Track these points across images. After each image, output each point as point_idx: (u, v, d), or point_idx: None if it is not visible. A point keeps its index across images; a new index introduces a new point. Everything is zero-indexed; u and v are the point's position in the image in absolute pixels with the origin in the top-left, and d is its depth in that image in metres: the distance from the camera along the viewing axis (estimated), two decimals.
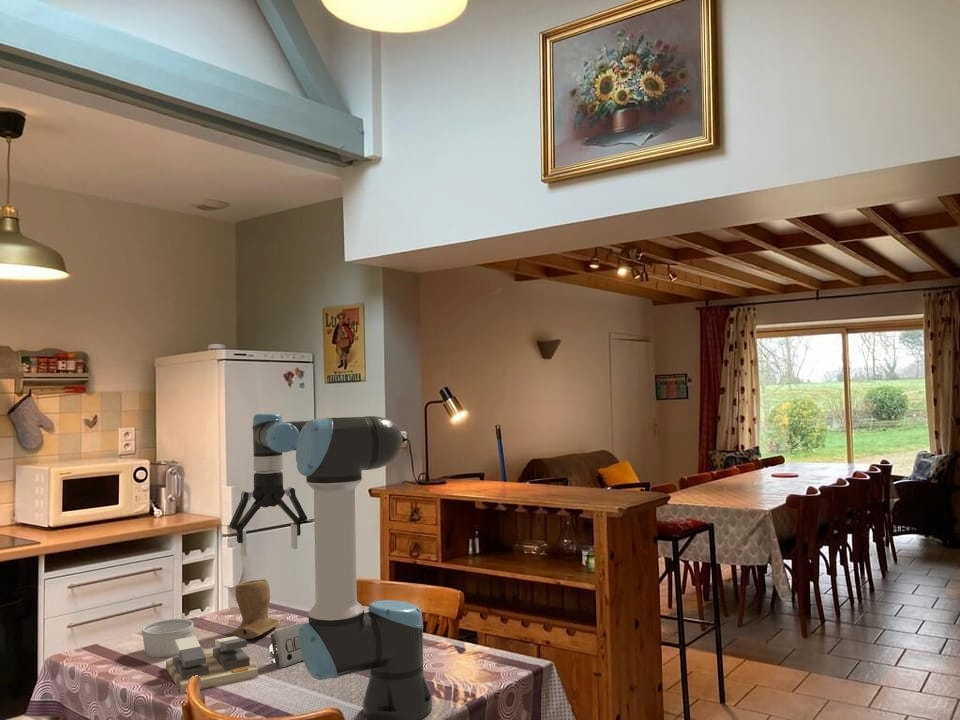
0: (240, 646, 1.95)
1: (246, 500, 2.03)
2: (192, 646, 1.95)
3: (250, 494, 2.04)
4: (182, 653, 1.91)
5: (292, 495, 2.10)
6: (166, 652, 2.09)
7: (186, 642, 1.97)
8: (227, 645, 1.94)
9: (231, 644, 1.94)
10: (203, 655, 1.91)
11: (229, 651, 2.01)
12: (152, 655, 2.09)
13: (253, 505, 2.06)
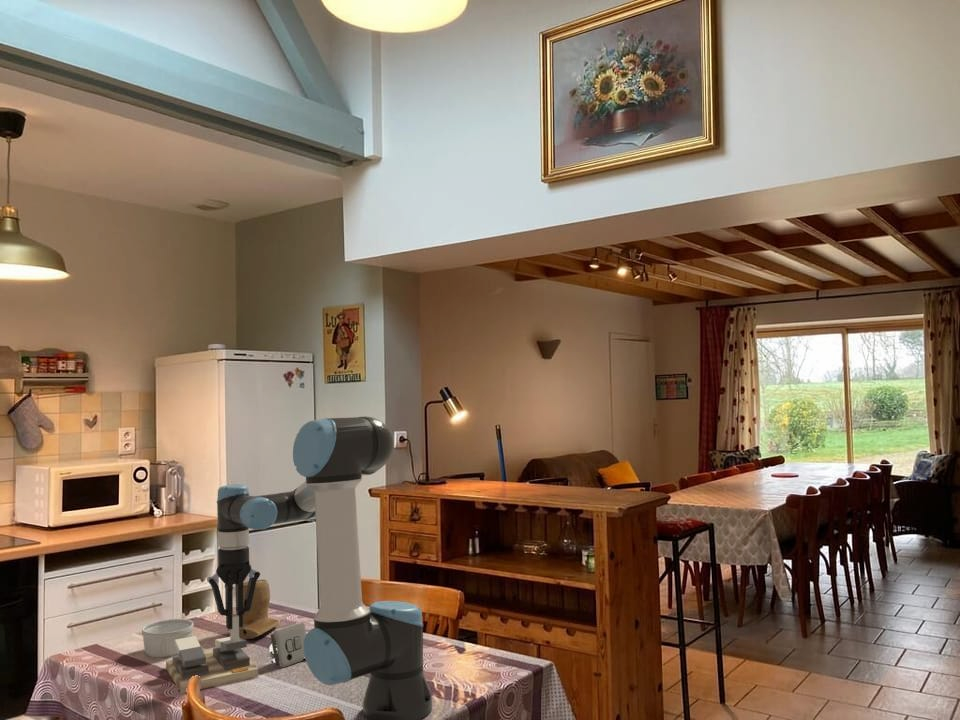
0: (240, 646, 1.95)
1: (216, 585, 1.93)
2: (192, 646, 1.95)
3: (215, 577, 1.94)
4: (182, 653, 1.91)
5: (254, 578, 1.98)
6: (166, 652, 2.09)
7: (186, 642, 1.97)
8: (227, 645, 1.94)
9: (231, 644, 1.94)
10: (203, 655, 1.91)
11: (229, 651, 2.01)
12: (152, 655, 2.09)
13: (226, 586, 1.96)
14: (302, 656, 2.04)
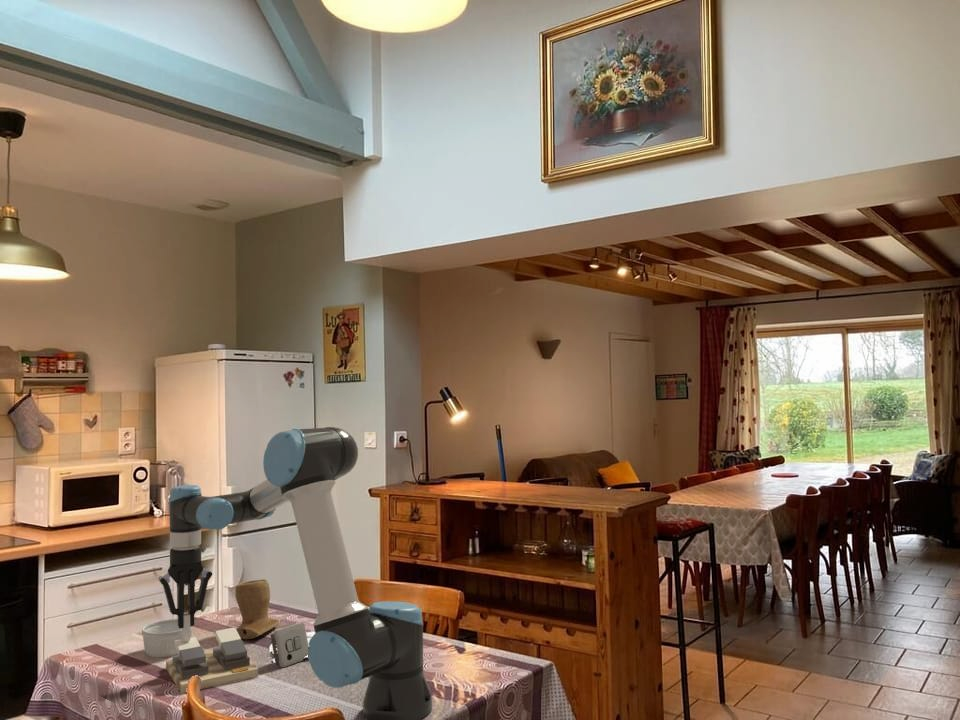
0: (240, 656, 1.95)
1: (167, 584, 1.95)
2: (192, 646, 1.95)
3: (166, 576, 1.96)
4: (182, 653, 1.91)
5: (206, 578, 2.00)
6: (166, 652, 2.09)
7: (186, 642, 1.97)
8: (228, 656, 1.93)
9: (232, 655, 1.94)
10: (203, 654, 1.91)
11: None
12: (152, 655, 2.09)
13: (177, 586, 1.98)
14: (302, 656, 2.04)
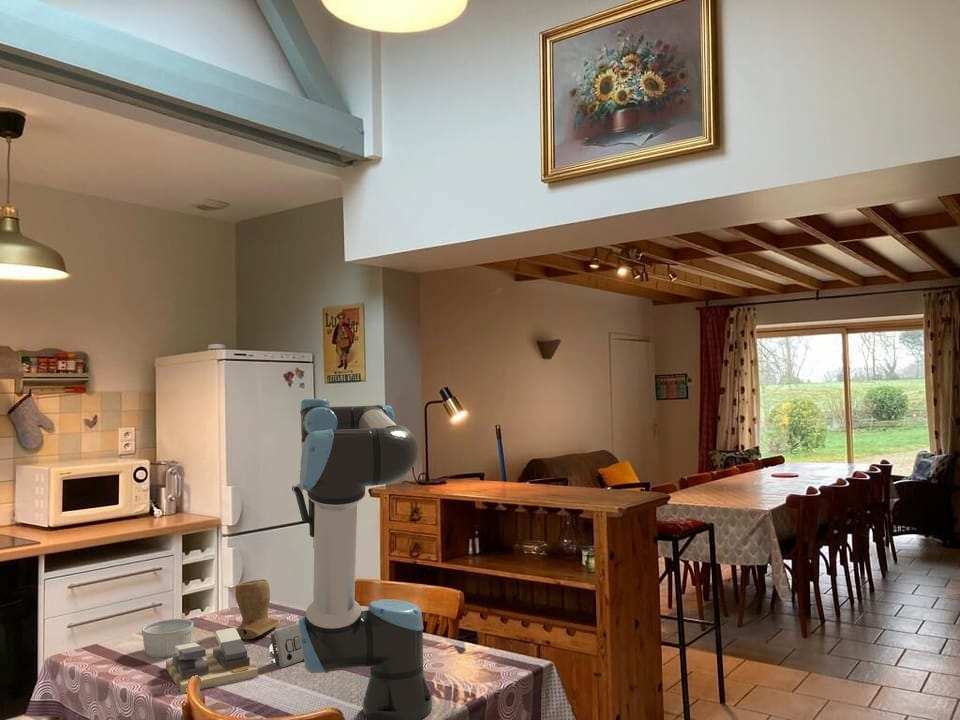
0: (240, 656, 1.95)
1: (300, 493, 1.99)
2: (192, 646, 1.95)
3: (300, 485, 2.00)
4: (182, 650, 1.92)
5: None
6: (166, 652, 2.09)
7: (186, 645, 1.97)
8: (228, 656, 1.93)
9: (232, 655, 1.94)
10: (203, 649, 1.92)
11: None
12: (152, 655, 2.09)
13: None
14: (302, 656, 2.04)
